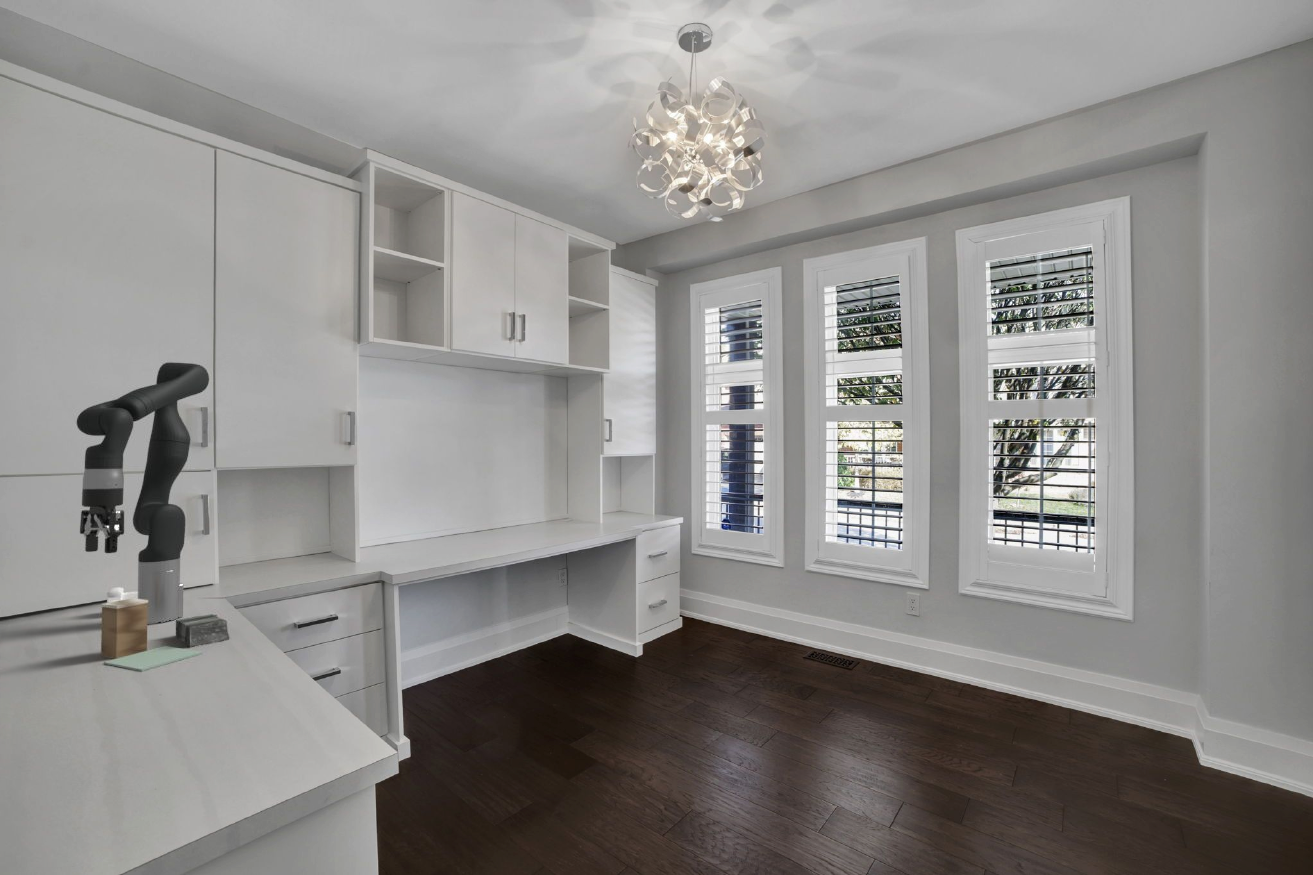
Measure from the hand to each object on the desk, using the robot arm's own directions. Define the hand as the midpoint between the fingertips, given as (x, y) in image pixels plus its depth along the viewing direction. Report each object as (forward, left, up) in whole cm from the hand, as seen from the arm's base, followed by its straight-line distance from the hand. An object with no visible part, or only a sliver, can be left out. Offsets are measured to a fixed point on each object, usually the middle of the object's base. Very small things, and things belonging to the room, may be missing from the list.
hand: (101, 552), depth 146 cm
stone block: (-13, +19, -23) cm, 33 cm away
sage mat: (+2, +25, -23) cm, 34 cm away
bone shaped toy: (-24, -30, -23) cm, 45 cm away
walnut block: (+2, +14, -23) cm, 27 cm away
